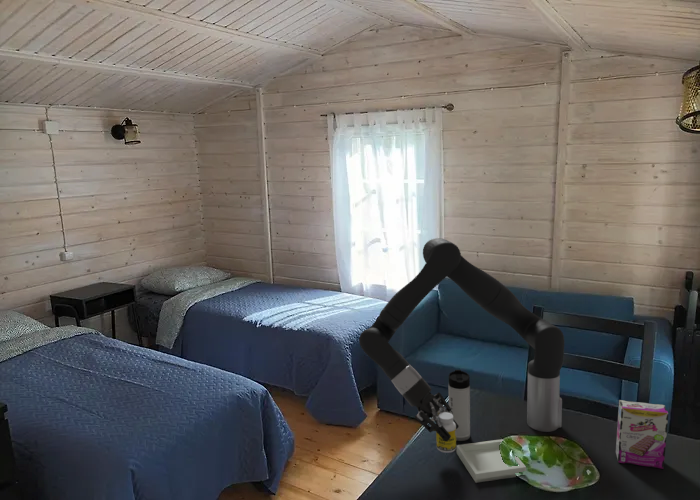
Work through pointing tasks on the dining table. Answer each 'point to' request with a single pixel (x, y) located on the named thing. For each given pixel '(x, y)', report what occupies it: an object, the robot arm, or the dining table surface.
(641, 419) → the candy bar box
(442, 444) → the supplement bottle
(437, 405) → the robot arm
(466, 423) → the travel mug
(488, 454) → the tray
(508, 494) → the dining table surface
